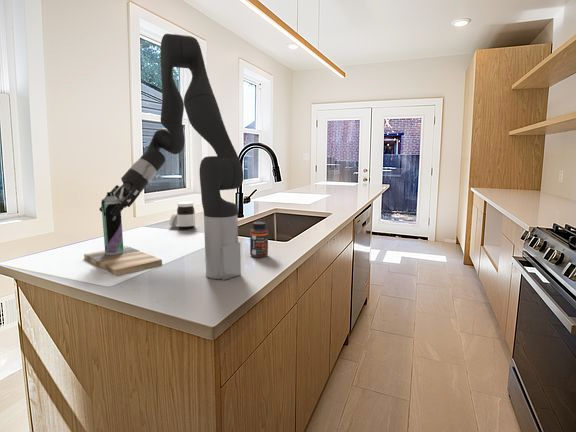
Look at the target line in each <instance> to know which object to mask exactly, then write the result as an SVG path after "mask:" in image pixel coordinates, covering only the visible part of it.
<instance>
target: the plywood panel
mask: <svg viewBox="0 0 576 432" xmlns="http://www.w3.org/2000/svg"><path fill="white" fill-rule="evenodd" d="M123 249H124V252H123V253H121V254H117V255H106V254H105V249H103V250H99V251H94V252H89V253H83V256H84V258H83V259H84V260H87V261H88V262H90V263H92V264H94V265H96V266H98V267H100V268H102V269H103V270H106V271H107V272H109V273H111V274H112V275H115V276H120V275H123V274H127V273H128V274H129V273H132V272H137V271H140V270H144V269H149V268H152V267H156V266H161V264H162V265H163V260H162V259H161V258H158V257H156V256H155V255H154V256H153V255H151V254H148V253H146V252H144V251H141V250H140V249H139V250H138V249H136V248H133V247H131V246H127V245H126V246H123Z"/></svg>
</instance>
